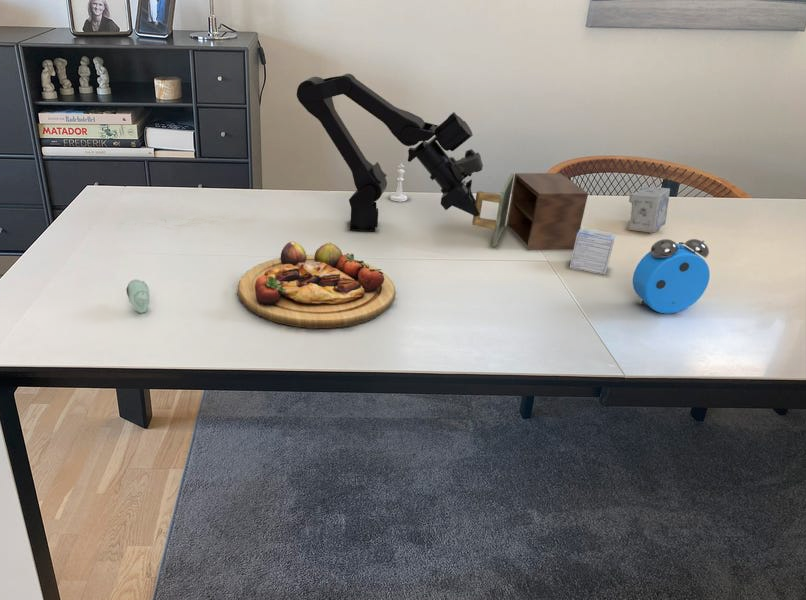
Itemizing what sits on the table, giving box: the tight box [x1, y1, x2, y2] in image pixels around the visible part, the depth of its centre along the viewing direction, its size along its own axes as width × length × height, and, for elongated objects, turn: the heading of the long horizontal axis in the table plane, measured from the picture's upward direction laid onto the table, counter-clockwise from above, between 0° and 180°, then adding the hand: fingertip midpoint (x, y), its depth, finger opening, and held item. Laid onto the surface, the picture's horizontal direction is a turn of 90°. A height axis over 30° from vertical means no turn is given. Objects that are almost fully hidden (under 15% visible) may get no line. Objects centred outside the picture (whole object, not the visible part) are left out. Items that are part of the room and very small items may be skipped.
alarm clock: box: [632, 238, 711, 315], centre depth 140 cm, size 13×6×15 cm, turn 97°
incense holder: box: [627, 186, 671, 233], centre depth 182 cm, size 10×8×10 cm
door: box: [471, 173, 515, 248], centre depth 173 cm, size 7×16×14 cm, turn 160°
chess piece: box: [389, 162, 408, 203], centre depth 195 cm, size 5×5×10 cm
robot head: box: [126, 279, 150, 314], centre depth 132 cm, size 8×4×7 cm, turn 17°
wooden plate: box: [237, 240, 396, 329], centre depth 141 cm, size 32×32×8 cm
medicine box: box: [569, 226, 616, 275], centre depth 158 cm, size 8×4×9 cm, turn 65°
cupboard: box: [505, 172, 589, 251], centre depth 173 cm, size 12×16×14 cm
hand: (478, 214), depth 168 cm, fingers closed on door, 2 cm apart
